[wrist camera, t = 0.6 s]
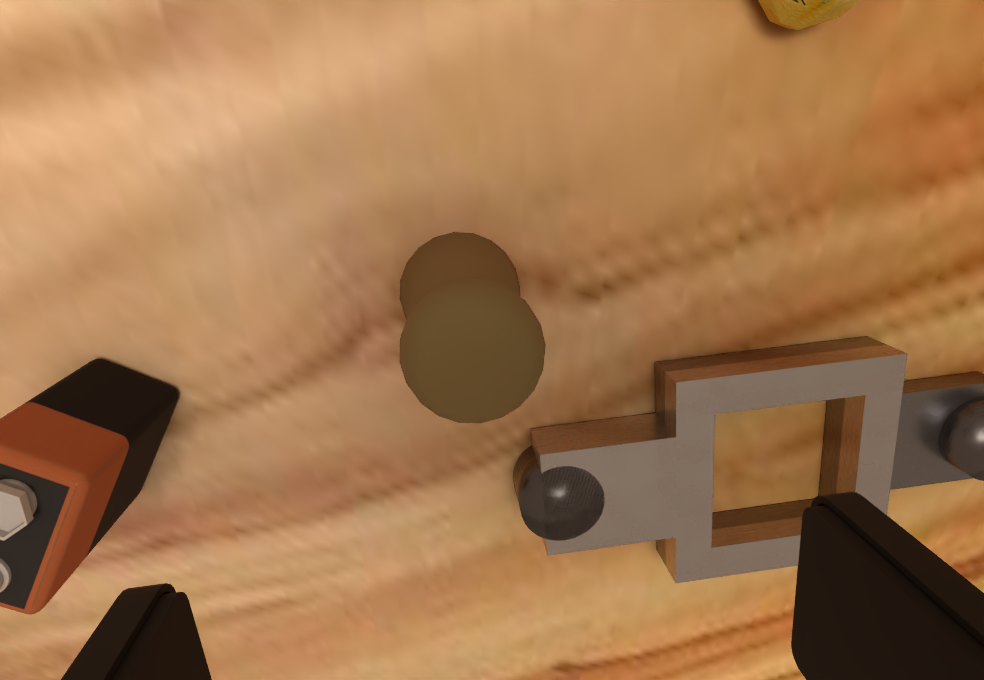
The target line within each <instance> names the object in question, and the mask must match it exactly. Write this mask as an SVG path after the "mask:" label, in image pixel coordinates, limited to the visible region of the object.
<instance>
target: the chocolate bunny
mask: <svg viewBox="0 0 984 680" xmlns="http://www.w3.org/2000/svg"><path fill="white" fill-rule="evenodd" d="M758 1H759V3H760V5H761V7H762V9H763V10H764V12H765V14H766V16H767V18H768V20H769V21H770V22H772V23H775V24H777V25H780V26H782V27H785V28H788V29H795V30H800V29H803V28H807V27H810V26H813V25H816V24H819V23H822V22H825V21H828V20H831V19H834V18H837V17H840V16H841V15H842V14H844V13H845V12H846V11H848V10H849V9H850V8H851V7H853V6H854V5H855V4H856V3H857V2H858V1H859V0H758Z"/></svg>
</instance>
